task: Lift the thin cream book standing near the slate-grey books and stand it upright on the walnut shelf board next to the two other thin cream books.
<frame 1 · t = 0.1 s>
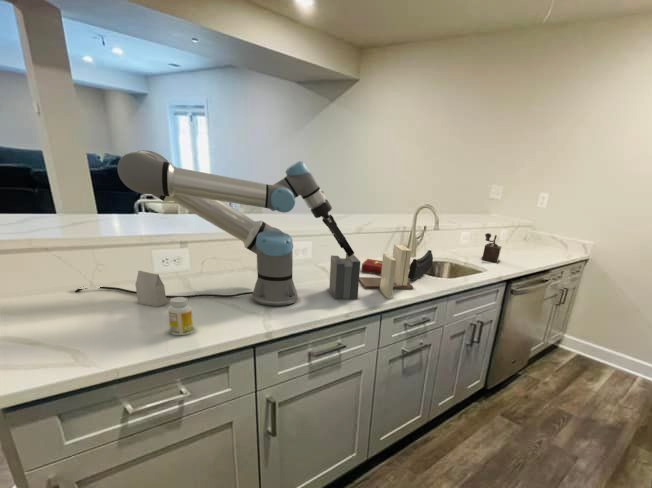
hand: (348, 250, 155), 16 cm above the countertop, tool tilted 35°, fingers open, 13 cm apart
shelf board: (385, 284, 173), on the countertop
grey stone: (152, 303, 121), on the countertop
white books: (398, 282, 175), resting on shelf board
magazine: (420, 275, 196), on the countertop
grey books: (343, 293, 154), on the countertop
white book: (385, 293, 161), on the countertop
hardcover book: (384, 272, 192), on the countertop
supplement bottle: (182, 332, 107), on the countertop
manual coffee grinder: (489, 260, 253), on the countertop
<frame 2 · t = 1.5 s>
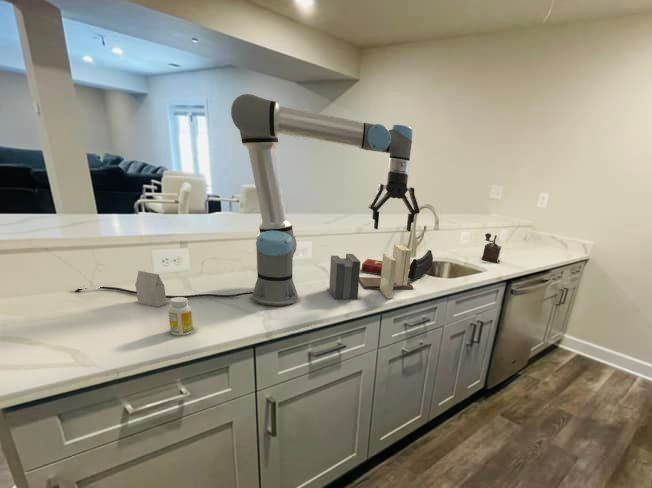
hand: (392, 229, 150), 27 cm above the countertop, tool pointing down, fingers open, 13 cm apart
nothing on the countertop moved.
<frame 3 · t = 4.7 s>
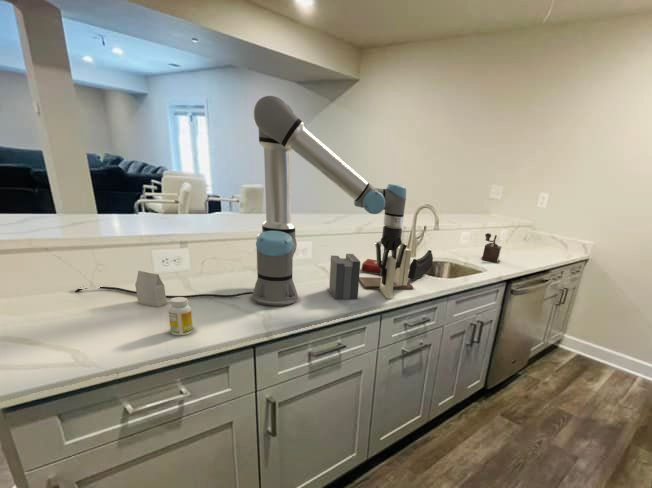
hand: (386, 283, 159), 4 cm above the countertop, tool pointing down, fingers closed on white book, 2 cm apart
white book: (385, 293, 161), on the countertop, touching gripper
everything else where it was.
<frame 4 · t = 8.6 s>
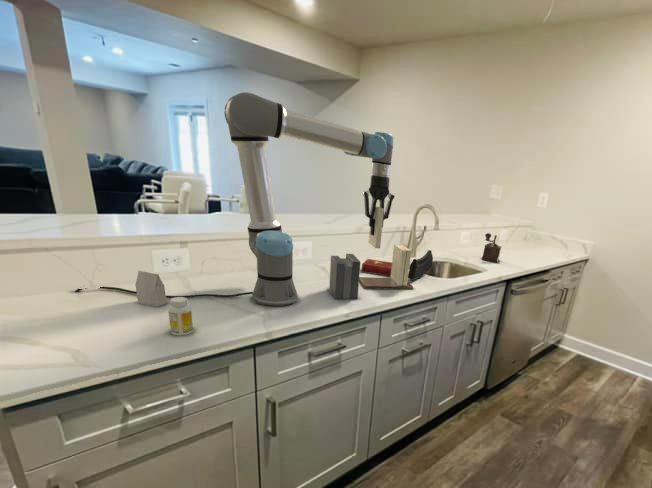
hand: (375, 234, 162), 22 cm above the countertop, tool pointing down, fingers closed on white book, 2 cm apart
white book: (374, 245, 163), point 17 cm above the countertop, touching gripper
everything else where it was.
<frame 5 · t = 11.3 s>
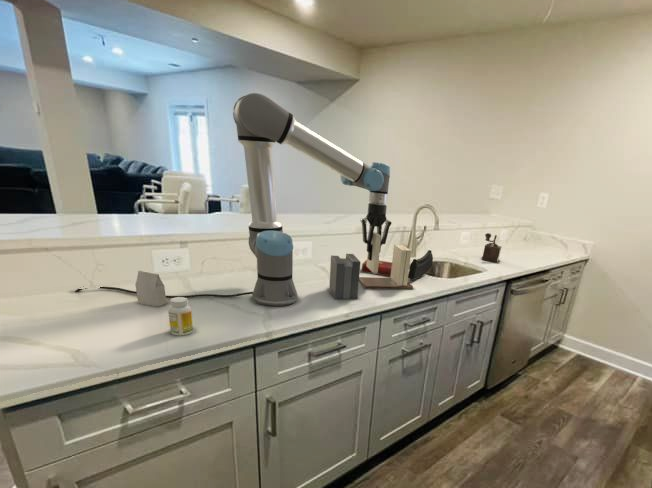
hand: (372, 259, 166), 11 cm above the countertop, tool pointing down, fingers closed on white book, 2 cm apart
white book: (371, 269, 168), point 7 cm above the countertop, touching gripper
everything else where it was.
when the fingers open (6 cm above the countertop, at t = 13.0 s): white book stays where it is, resting on shelf board.
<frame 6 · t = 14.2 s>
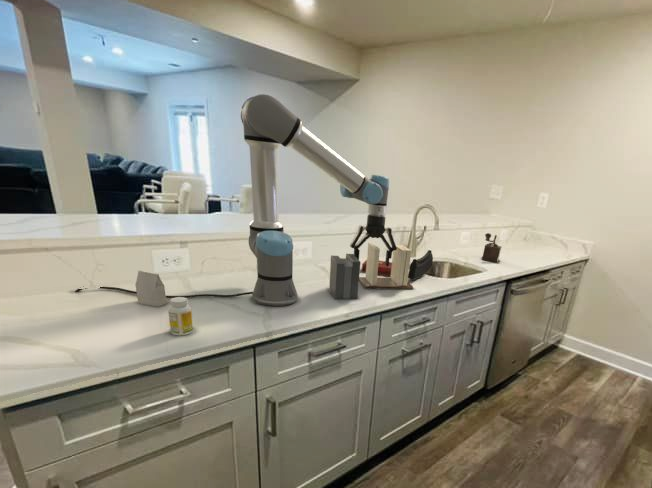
hand: (372, 265, 167), 9 cm above the countertop, tool pointing down, fingers open, 13 cm apart
white book: (370, 281, 170), point 1 cm above the countertop, touching shelf board
everything else where it was.
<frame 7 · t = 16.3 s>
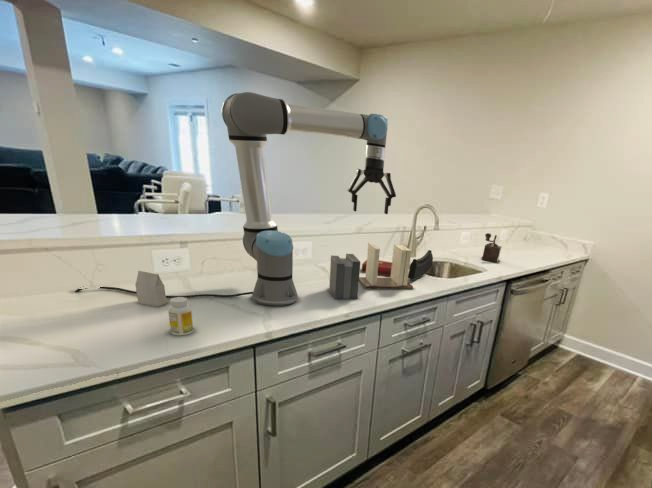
hand: (370, 212, 162), 30 cm above the countertop, tool pointing down, fingers open, 13 cm apart
nothing on the countertop moved.
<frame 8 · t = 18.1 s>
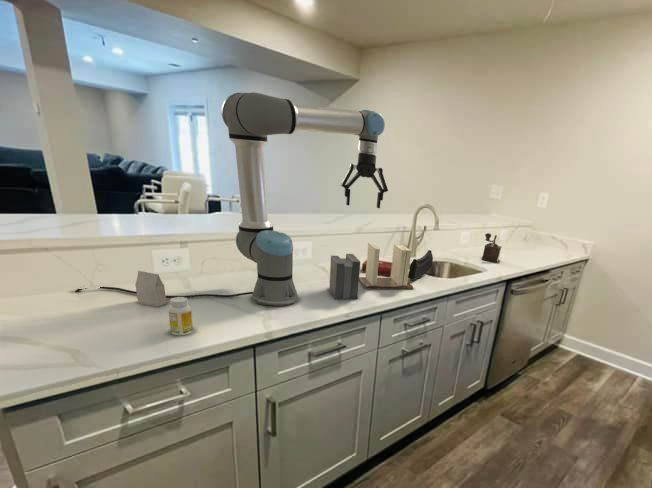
hand: (363, 206, 166), 32 cm above the countertop, tool pointing down, fingers open, 13 cm apart
nothing on the countertop moved.
at the end: white book inside the target area on the shelf board (1.9 cm from its centre), point 1.2 cm above the shelf board's base; white book 13.1 cm from the white books (horizontally); white book tilted 0° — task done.
